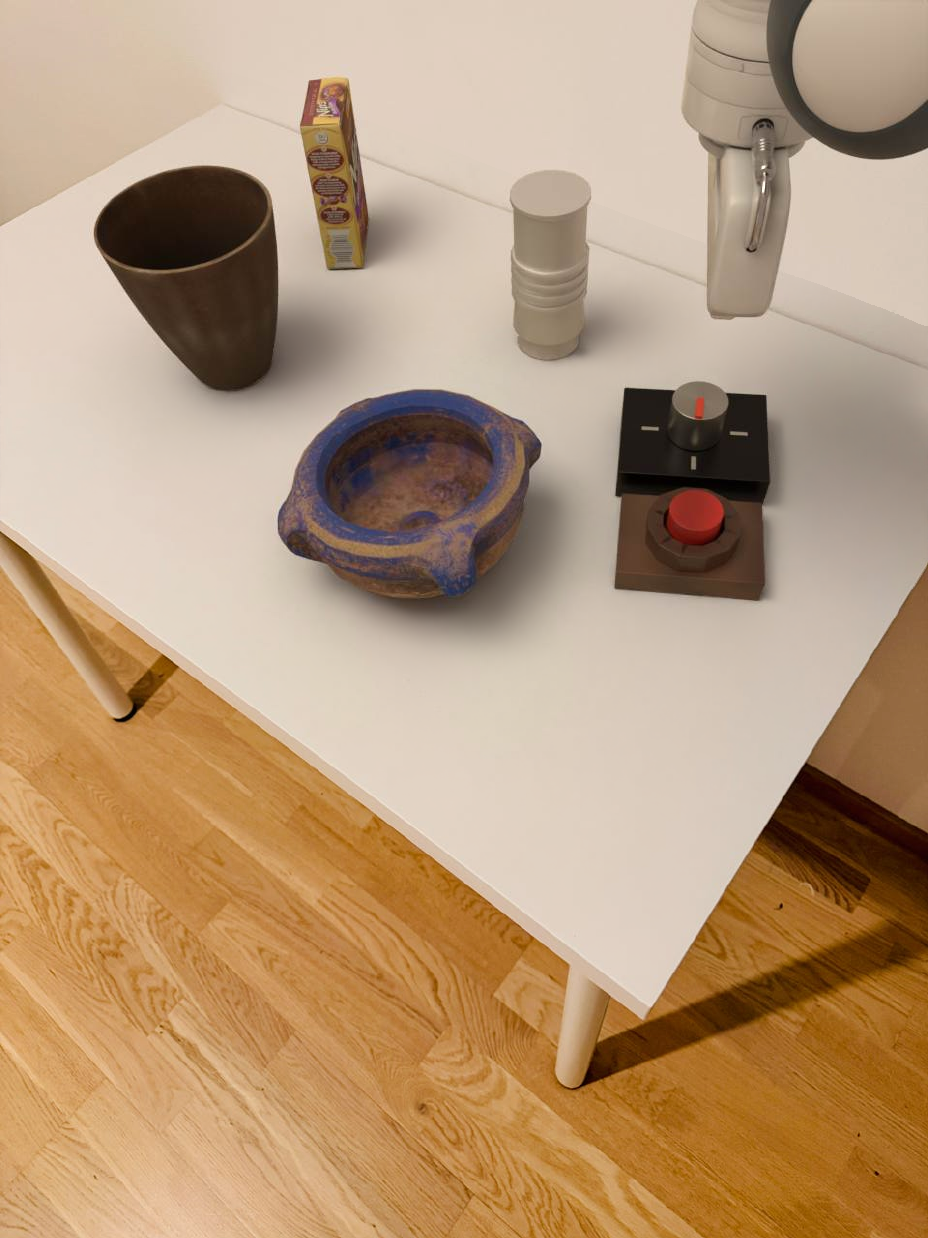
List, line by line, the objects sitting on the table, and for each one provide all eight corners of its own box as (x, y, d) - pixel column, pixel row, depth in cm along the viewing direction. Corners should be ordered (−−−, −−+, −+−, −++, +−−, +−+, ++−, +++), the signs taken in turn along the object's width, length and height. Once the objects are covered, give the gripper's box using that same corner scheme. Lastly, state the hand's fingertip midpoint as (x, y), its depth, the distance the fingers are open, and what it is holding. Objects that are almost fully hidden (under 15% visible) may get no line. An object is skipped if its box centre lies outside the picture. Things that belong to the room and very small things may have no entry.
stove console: (759, 420, 79) (767, 392, 77) (762, 506, 74) (771, 480, 71) (621, 412, 81) (624, 385, 79) (614, 496, 76) (617, 470, 73)
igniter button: (720, 506, 70) (723, 491, 68) (720, 547, 68) (724, 532, 66) (667, 503, 70) (670, 487, 69) (665, 543, 68) (668, 528, 67)
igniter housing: (756, 520, 73) (767, 486, 70) (759, 600, 69) (770, 569, 66) (620, 510, 75) (623, 477, 72) (614, 588, 71) (617, 557, 67)
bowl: (376, 440, 81) (358, 351, 73) (562, 497, 76) (565, 408, 68) (270, 590, 73) (236, 509, 64) (472, 666, 68) (463, 587, 59)
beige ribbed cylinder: (596, 351, 86) (606, 203, 73) (528, 371, 85) (526, 224, 73) (568, 308, 90) (573, 161, 77) (502, 327, 89) (497, 181, 76)
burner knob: (669, 410, 77) (675, 375, 73) (722, 415, 76) (730, 380, 73) (664, 448, 74) (670, 413, 71) (719, 453, 74) (727, 419, 70)
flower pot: (342, 348, 89) (308, 195, 75) (238, 442, 82) (180, 292, 69) (234, 299, 94) (184, 147, 81) (128, 383, 88) (55, 234, 75)
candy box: (367, 268, 96) (340, 123, 83) (327, 271, 96) (294, 126, 83) (372, 219, 101) (348, 74, 88) (334, 221, 101) (305, 77, 88)
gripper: (832, 182, 46) (773, 390, 57) (809, -2, 57) (764, 204, 68) (705, 180, 47) (672, 385, 58) (707, -1, 58) (679, 202, 69)
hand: (722, 286), depth 63 cm, fingers open, 4 cm apart
